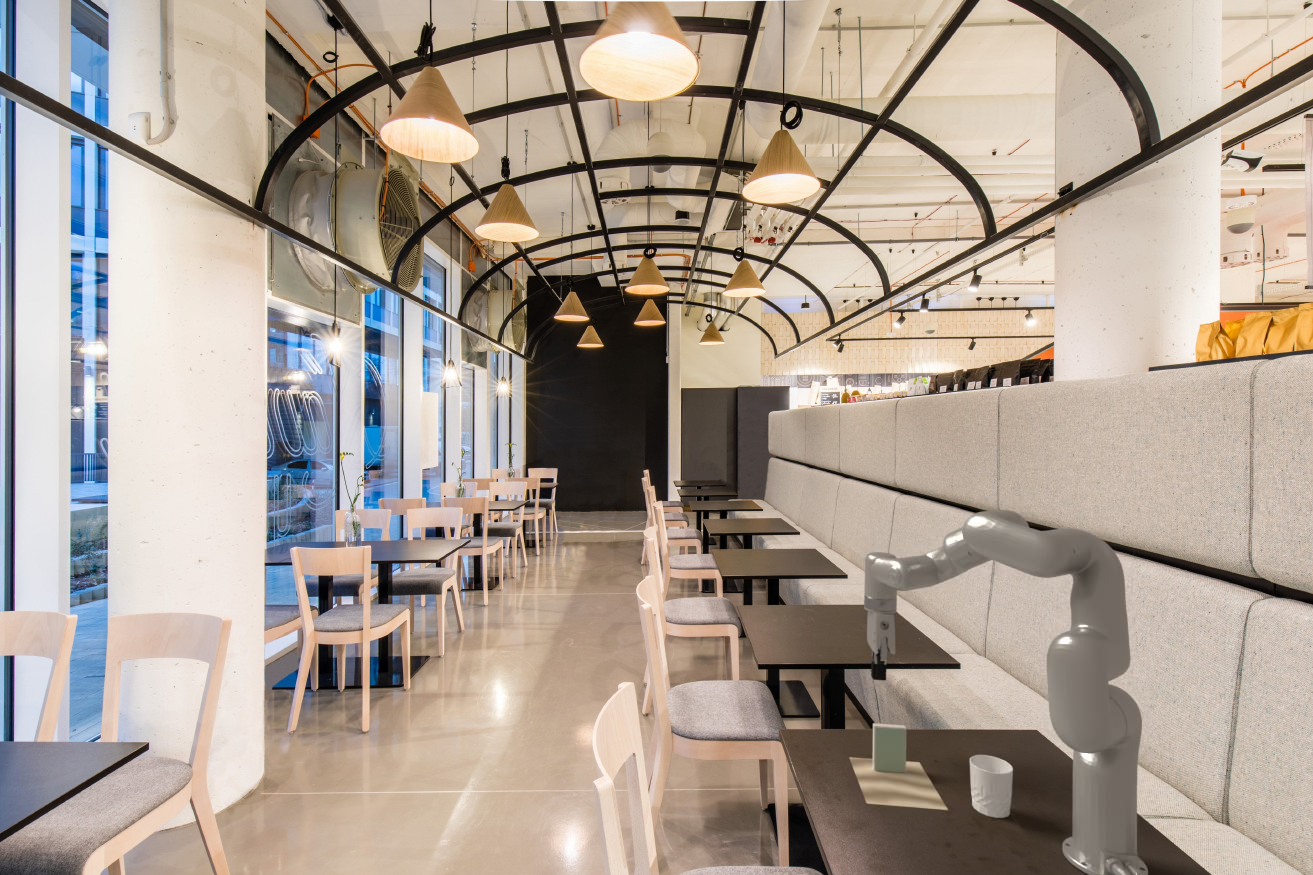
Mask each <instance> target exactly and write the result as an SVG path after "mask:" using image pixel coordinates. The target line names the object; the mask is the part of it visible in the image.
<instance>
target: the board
mask: <svg viewBox="0 0 1313 875" xmlns="http://www.w3.org/2000/svg"><path fill="white" fill-rule="evenodd" d="M849 762H850V764H851V766H852V768H853V771H854V773H855V776H856V779H857V782H858V784H859V786H860V790H861V792H862V794H863V798H864V801H865V803H866V804H868V805H880V806H893V807H904V808H905V807H906V808H917V809H929V810H930V809H931V810H942V811H949V809H948V807H947V806H946V804H945V802H944V801H943V799H942V798H941V796H940V794H939V792H938V791H937V790H936V787H935V786H934V784H933V783H932V781H931V779H930V778H929V776H928V775H927V773H926V770H924V768H923V766H922V764H921V763H920V762H919V761H909V760H908V761H907V760H906V773H902V772H889V771H875V770H874V769H873V758H863V757H850V756H849Z"/></svg>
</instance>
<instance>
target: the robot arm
mask: <svg viewBox="0 0 1313 875" xmlns="http://www.w3.org/2000/svg"><path fill="white" fill-rule="evenodd" d="M942 542H943V543H942V544H943V545H941V546H940V547H938V548H935V549H933V550H931V551H929V552H927V553H925V554H921V555H913V556H906V557H899V558H898V557H897V556H895V554H892V553H889V552H880V551H872V552H869V553H867V554H866V556H865V558H864V559H865V562H864V591H863V592H864V598H863V601H864V603H863V607H864V608H863V610H865V611H867V622H866V623H867V624H866V639H867V640H866V641H867V644H868V646H869V647H870V649H871V666H870V667H871V672H870V673H871V674H870V676H871V678H872V680H873V681H883V682H884V681H886V680H887V662H888V659H887V658H888V652H889V653H890V655H892V656H895V655H896V625H895V613H897V612H898V611H897V607H898V606H897V605H898V601H897V600H898V598H897V596H898V591H900V592H908V591H913V590H918V589H925V588H930V587H934V586H936V585H940V584H941V583H945V582H947V581H949V580H952V579H954V578H956V577H958V576H961V575H962V574H964V573H966V572H968V571H969V570H972V569H974V568H976V567H978V566H981V565H984V564H985V563H987V562H991V561H993V562H994V561H995V562H996V563H1000V564H1002V565H1005V566H1007V567H1009V568H1011V569H1015V570H1016V571H1019V572H1022V573H1025V574H1027V575H1030V576H1033V577H1038V578H1042V579H1044V578H1045V579H1050V578H1057V577H1061V576H1068V575H1070V576H1071V577H1072V587H1071V590H1070V592H1071V593H1070V598H1069V605H1070V617H1071V619H1070V620H1071V623H1070V630H1068V631H1064V632H1063V633H1060V634H1059V635H1057V636H1056V637H1054V639H1052V641H1051V643H1050V645H1049V647H1048V649H1047V655H1046V676H1047V677H1046V679H1047V681H1046V682H1047V696H1048V697H1047V698H1048V711H1049V719H1050V723H1051V725H1052V728H1053V730H1054V731H1055V732H1054V733H1055V734H1056V735H1057V737H1058V738H1059V739H1060V740H1061V742H1062V743H1064V745H1065V746H1067V747H1069V749H1072V750H1073V753H1072V754H1073V755H1072V836H1070V837H1067V838H1066V839H1064V840H1063V842H1062V853H1063V855H1064V858H1066V859H1067V861H1068V862H1069V863H1070V864H1071V865H1073V866H1074V867H1075V868H1077V869H1078V870H1080V872H1081V871H1082V872H1083V873H1085V874H1087V875H1149V871H1148V866H1147V865H1146V864H1145V862H1144V861H1143V860H1142V859H1141V858H1140V857H1139V856H1138V765H1139V751H1140V745H1141V739H1142V737H1141V736H1142V733H1143V732H1142V730H1143V721H1142V720H1143V719H1142V713H1141V710H1140V708H1139V705H1138V704H1137V702H1136V700H1135V699H1134V698H1133V697H1132V696H1131V694H1129V693H1128V692H1127V691H1126V690H1124V689H1122V688H1121V687H1119V686H1116V685H1115V684H1114V685H1113V684H1109V682H1111V681H1113V680H1116V679H1118V678H1119V677H1121V676H1122V675H1124V674H1125V673H1127V671H1128V669H1129V668H1130V665H1131V648H1130V635H1129V634H1130V633H1129V623H1128V622H1129V620H1128V612H1127V599H1126V580H1125V573H1124V569H1123V565H1122V563H1121V561H1120V560H1121V559H1120V558H1119V557H1118V555H1117V553H1116V552H1115V551H1114V549H1113V548H1112V547H1111V546H1110V545H1109V544H1108V543H1107V542H1106V541H1104V540H1103V539H1101V538H1100V537H1099V536H1096V535H1094V534H1093V533H1090V532H1088V531H1085V530H1082V529H1081V530H1080V529H1075V528H1057V529H1050V530H1042V531H1041V530H1037V529H1034V528H1031V527H1030V526H1029V524H1028V522H1027V520H1026V518H1024V517H1023V516H1022V515H1020V514H1019V513H1017V512H1015V511H1014V510H1013V511H1012V510H1006V509H998V510H983V511H979V512H976V513H974V514H972V515H971V516H969V517H967V519H966V520H965V521H964V524H963V525H962V527H960V528H957V529H955V530H954V531H950V532H948V534H946V535H945V536H944V538H943V541H942Z"/></svg>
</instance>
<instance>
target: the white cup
mask: <svg viewBox="0 0 1313 875" xmlns="http://www.w3.org/2000/svg"><path fill="white" fill-rule="evenodd" d="M1013 775H1014V768H1013V766H1012V765H1011V764H1010V763H1009V762H1007V761H1006V760H1004V759H1001V758H999V757H997V756H993V755H987V754H975V755H973V756H971V757H970V758H969V778H970V780H969V781H970V793H971V794H970V795H971V805H972V807H973V809H975V810H976V811H977V812H978V813H980V814H982V815H984V816H987V817H991V818H996V819H997V818H998V819H999V818H1000V819H1004V818H1007V817H1009V815H1010V814H1011V804H1012V796H1013V778H1014V777H1013Z"/></svg>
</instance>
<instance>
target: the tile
mask: <svg viewBox="0 0 1313 875" xmlns="http://www.w3.org/2000/svg"><path fill="white" fill-rule="evenodd" d="M872 759H873V769H874V770H875V771H889V772H902V773H906V761H907V726H906V725H903V724H890V723H889V724H885V723H872Z"/></svg>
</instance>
